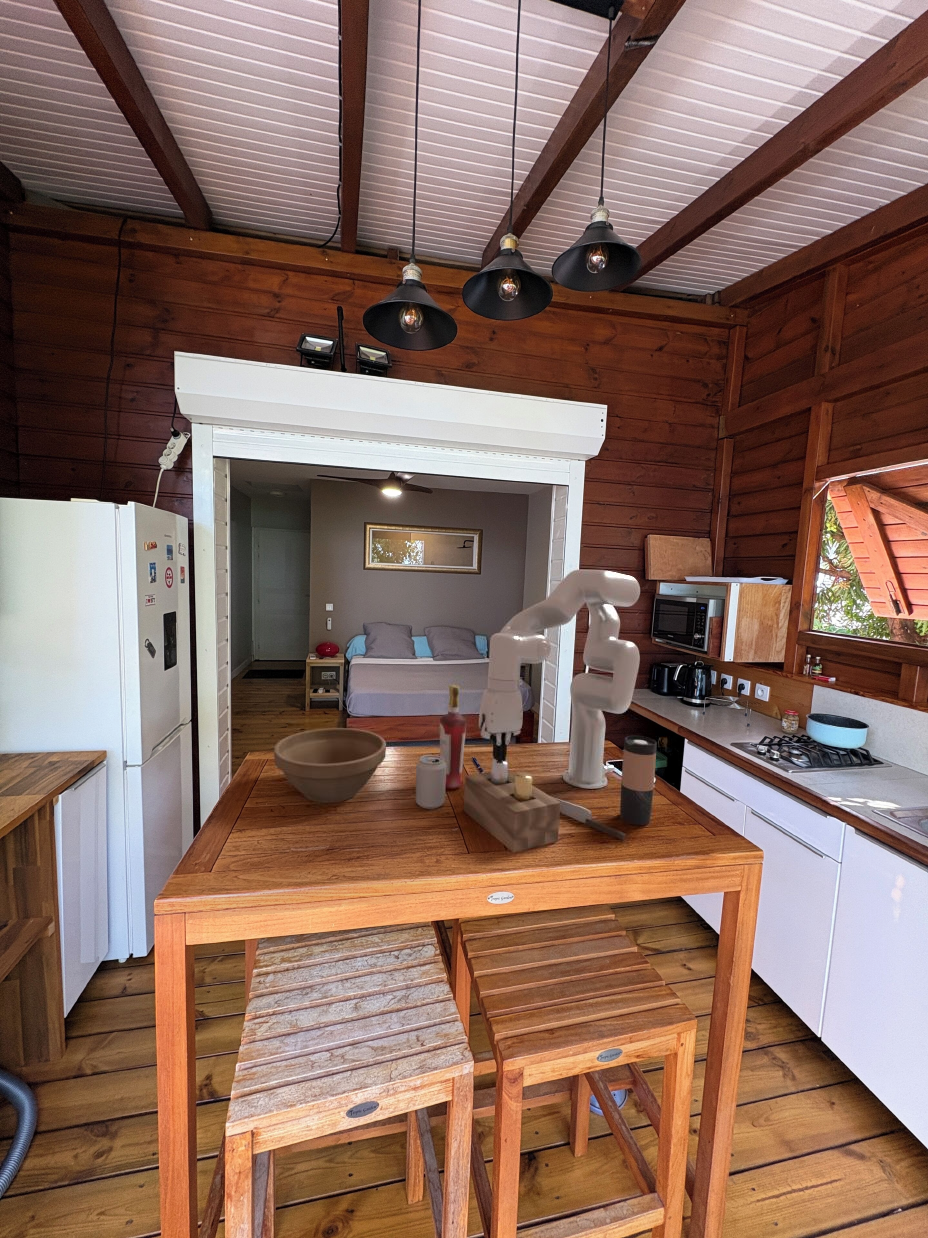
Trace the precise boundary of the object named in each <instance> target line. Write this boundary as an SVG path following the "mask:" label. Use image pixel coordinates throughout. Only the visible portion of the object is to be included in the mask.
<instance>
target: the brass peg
mask: <svg viewBox="0 0 928 1238" xmlns="http://www.w3.org/2000/svg"><path fill="white" fill-rule="evenodd" d="M514 774H515V782H514V799H516V800H517V801H519V802H524V801H529V800H531V797H532V785H533V778H534V777H533V774H532V773H530V772H526V771H519V772H516V773H514Z"/></svg>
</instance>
